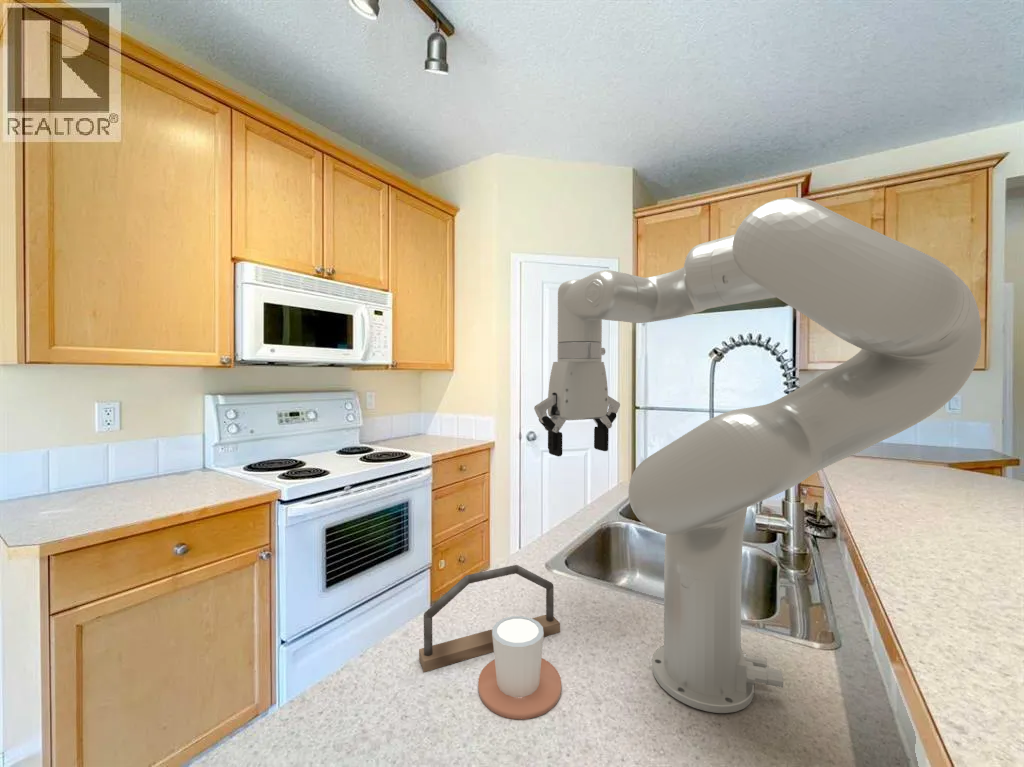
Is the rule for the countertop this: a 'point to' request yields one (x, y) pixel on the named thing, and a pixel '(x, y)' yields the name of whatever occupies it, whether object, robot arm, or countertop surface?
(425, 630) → the arched handle
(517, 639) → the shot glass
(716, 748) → the countertop surface
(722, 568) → the robot arm
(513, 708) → the coaster
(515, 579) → the countertop surface
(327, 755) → the countertop surface
